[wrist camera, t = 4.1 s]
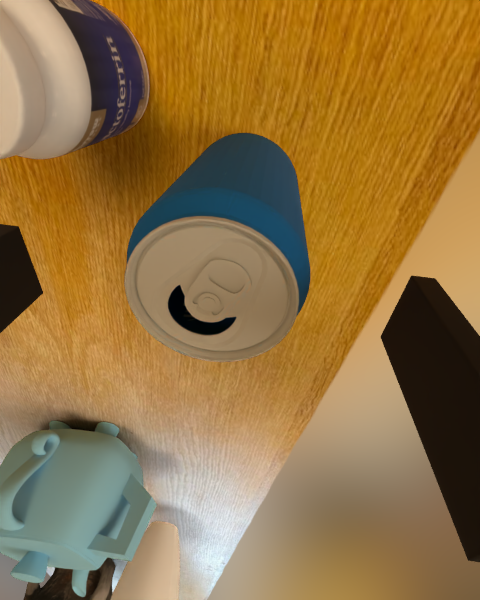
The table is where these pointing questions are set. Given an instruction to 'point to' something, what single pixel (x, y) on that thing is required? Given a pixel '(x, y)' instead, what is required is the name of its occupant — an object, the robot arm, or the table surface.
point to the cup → (152, 566)
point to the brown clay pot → (58, 590)
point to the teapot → (71, 502)
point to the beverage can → (222, 254)
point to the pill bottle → (66, 77)
